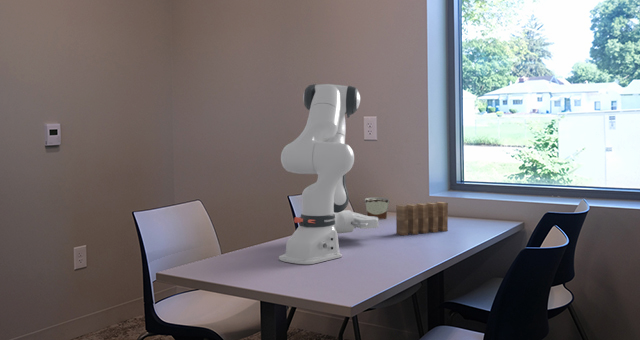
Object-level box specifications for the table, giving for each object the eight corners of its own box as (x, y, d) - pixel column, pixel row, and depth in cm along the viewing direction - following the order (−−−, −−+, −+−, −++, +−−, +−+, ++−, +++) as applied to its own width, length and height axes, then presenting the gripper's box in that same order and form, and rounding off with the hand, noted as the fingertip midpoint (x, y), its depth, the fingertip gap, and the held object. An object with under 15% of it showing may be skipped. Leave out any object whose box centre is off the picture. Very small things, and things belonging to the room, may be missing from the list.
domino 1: (403, 235, 216) (402, 206, 216) (396, 233, 221) (396, 205, 220) (408, 235, 217) (407, 206, 217) (401, 233, 222) (401, 204, 221)
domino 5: (443, 231, 225) (443, 203, 224) (435, 229, 229) (435, 202, 228) (447, 231, 226) (447, 203, 225) (440, 229, 230) (440, 201, 229)
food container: (389, 217, 265) (389, 197, 264) (389, 219, 259) (389, 198, 258) (364, 217, 266) (364, 197, 266) (364, 219, 260) (364, 198, 260)
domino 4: (433, 232, 223) (433, 204, 222) (426, 230, 227) (426, 202, 226) (438, 232, 224) (438, 203, 223) (430, 230, 228) (430, 202, 227)
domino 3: (423, 233, 221) (423, 204, 220) (416, 231, 225) (416, 203, 224) (428, 233, 222) (428, 204, 221) (421, 231, 226) (421, 203, 225)
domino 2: (413, 234, 218) (413, 205, 218) (406, 232, 223) (406, 204, 222) (418, 234, 219) (418, 205, 219) (411, 232, 224) (411, 204, 223)
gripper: (358, 217, 198) (390, 214, 204) (334, 210, 217) (364, 208, 223) (358, 233, 199) (390, 230, 204) (334, 225, 217) (364, 222, 223)
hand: (376, 218), depth 214 cm, fingers closed
